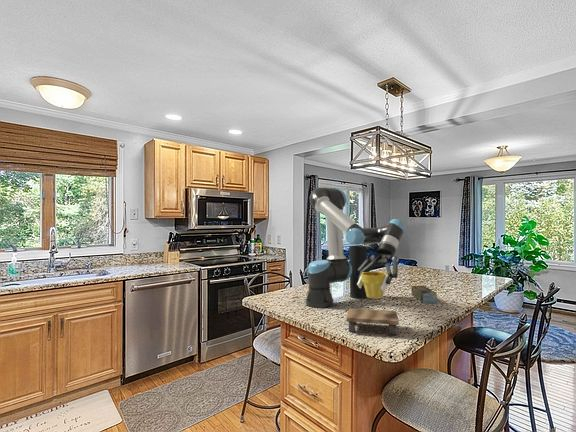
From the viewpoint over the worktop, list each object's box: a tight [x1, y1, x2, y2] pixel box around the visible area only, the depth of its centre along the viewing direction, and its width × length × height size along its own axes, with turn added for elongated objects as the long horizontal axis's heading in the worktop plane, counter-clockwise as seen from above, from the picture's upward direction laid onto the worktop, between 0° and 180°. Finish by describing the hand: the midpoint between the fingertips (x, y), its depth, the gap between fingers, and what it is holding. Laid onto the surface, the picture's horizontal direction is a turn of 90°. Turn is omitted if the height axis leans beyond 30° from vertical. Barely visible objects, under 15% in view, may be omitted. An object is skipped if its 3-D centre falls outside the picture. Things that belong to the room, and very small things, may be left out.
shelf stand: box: [345, 307, 400, 337], centre depth 129 cm, size 20×14×6 cm
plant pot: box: [361, 271, 388, 299], centre depth 131 cm, size 10×10×10 cm
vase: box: [348, 245, 368, 300], centre depth 186 cm, size 10×10×30 cm
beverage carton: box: [411, 285, 438, 305], centre depth 177 cm, size 8×19×7 cm, turn 176°
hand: (370, 288), depth 129 cm, fingers closed on plant pot, 10 cm apart
